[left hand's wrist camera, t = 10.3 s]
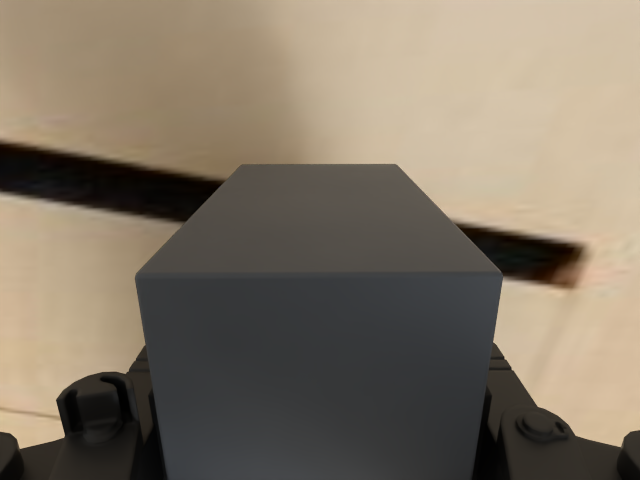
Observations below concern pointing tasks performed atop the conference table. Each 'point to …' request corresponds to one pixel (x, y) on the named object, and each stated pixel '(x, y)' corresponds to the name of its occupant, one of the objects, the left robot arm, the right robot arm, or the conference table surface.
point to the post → (319, 330)
